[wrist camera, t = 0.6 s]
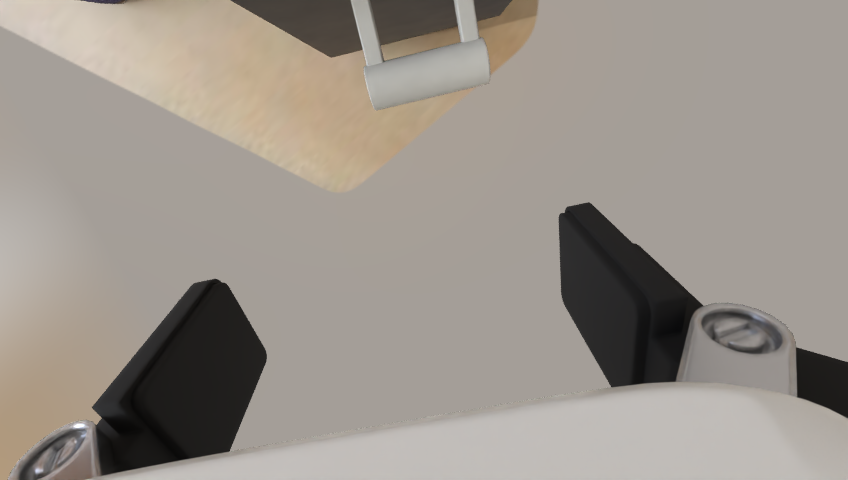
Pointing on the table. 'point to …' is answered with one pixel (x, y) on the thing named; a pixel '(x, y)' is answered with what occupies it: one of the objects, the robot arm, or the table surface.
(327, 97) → the table surface
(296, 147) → the table surface
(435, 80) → the lid
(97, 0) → the flask
